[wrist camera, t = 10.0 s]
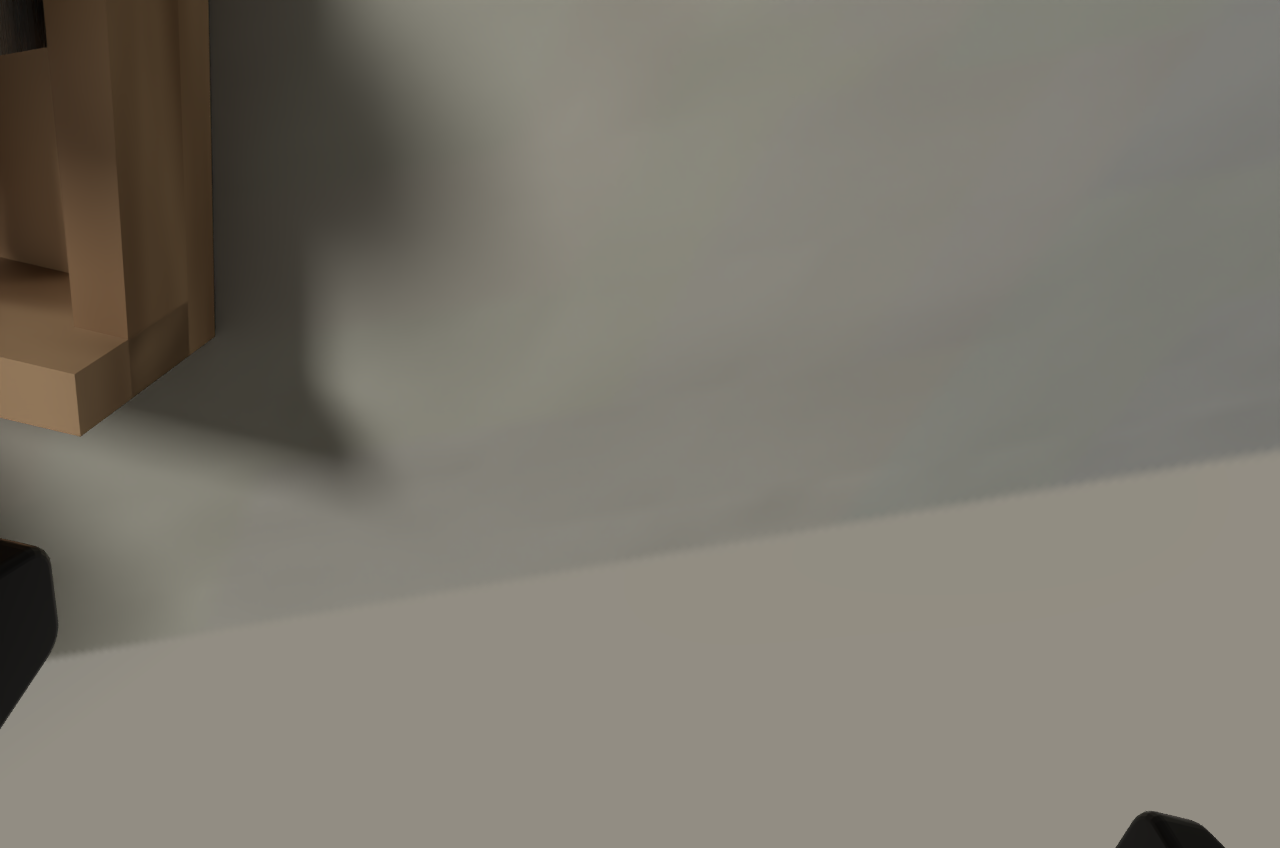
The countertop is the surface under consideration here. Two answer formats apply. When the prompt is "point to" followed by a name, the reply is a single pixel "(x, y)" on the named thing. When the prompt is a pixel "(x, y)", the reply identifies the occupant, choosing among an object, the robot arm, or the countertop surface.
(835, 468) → the countertop surface
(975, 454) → the countertop surface
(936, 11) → the countertop surface
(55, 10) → the wooden tray
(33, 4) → the pusher
